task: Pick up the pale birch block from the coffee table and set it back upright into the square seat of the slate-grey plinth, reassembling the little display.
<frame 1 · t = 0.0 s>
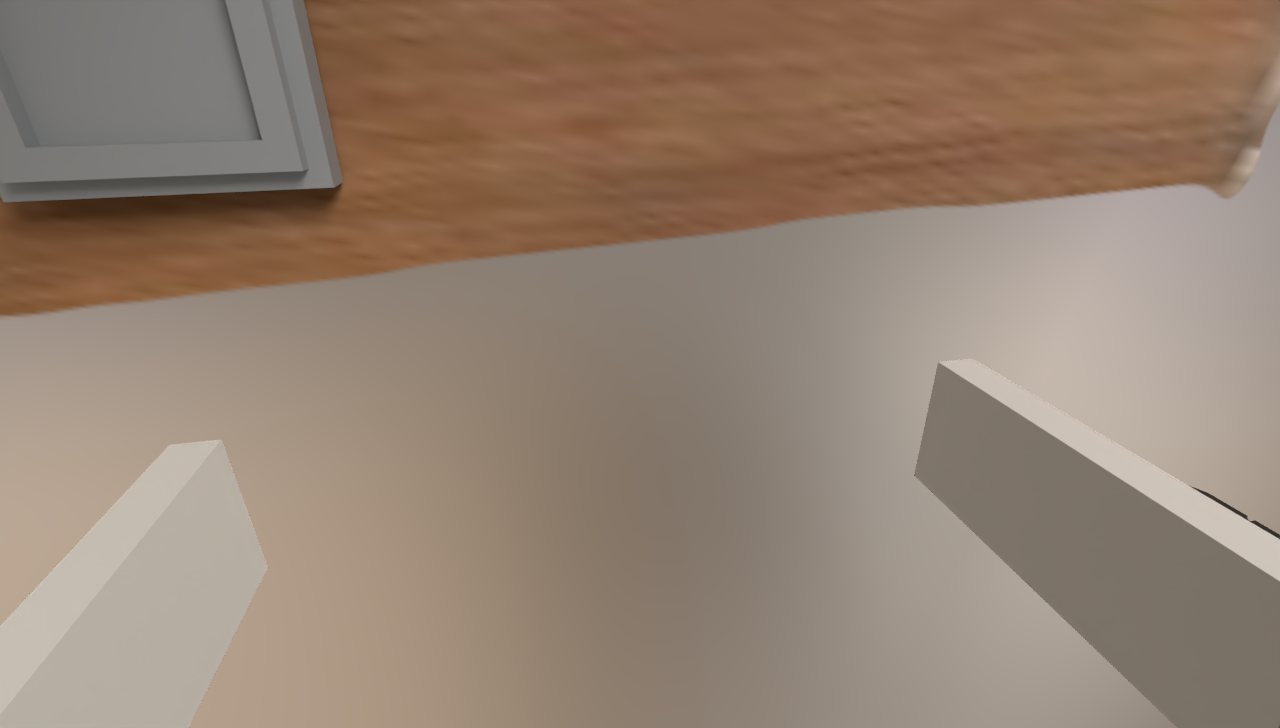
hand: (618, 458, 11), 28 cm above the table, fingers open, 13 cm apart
slate plinth: (142, 28, 29), on the table
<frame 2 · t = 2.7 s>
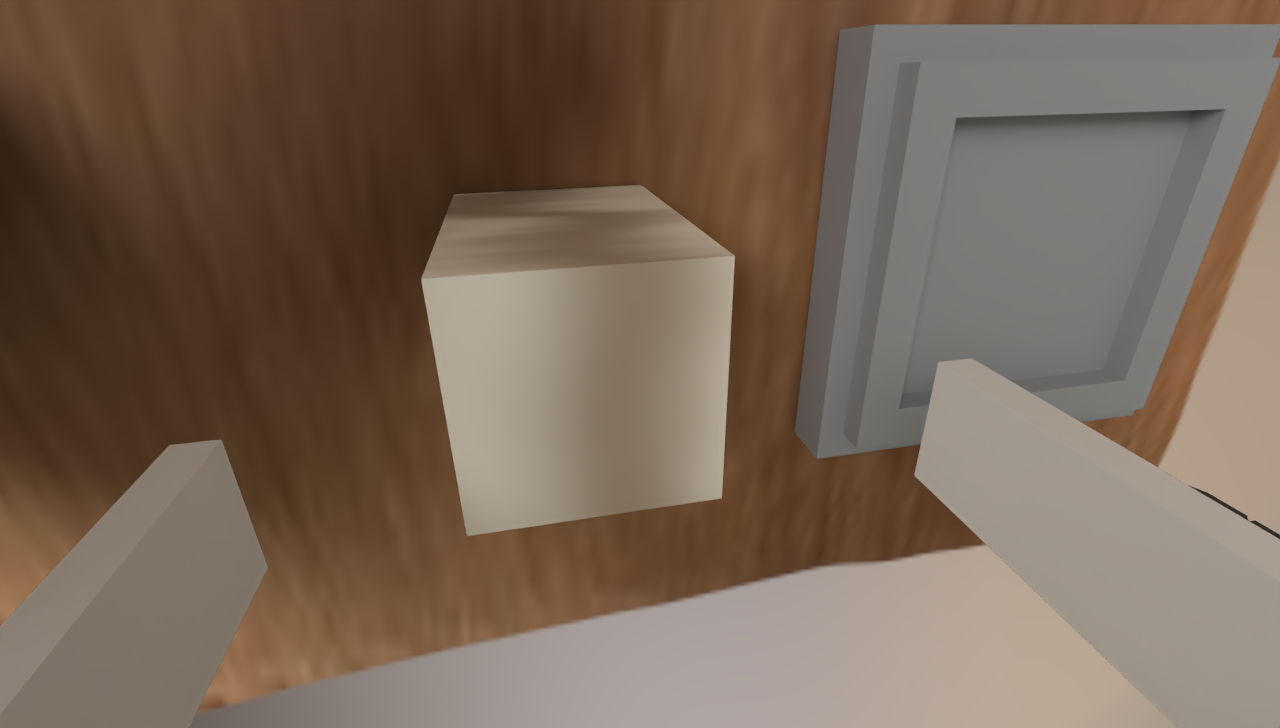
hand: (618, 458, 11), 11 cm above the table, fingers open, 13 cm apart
slate plinth: (990, 246, 24), on the table
birch block: (557, 279, 21), on the table
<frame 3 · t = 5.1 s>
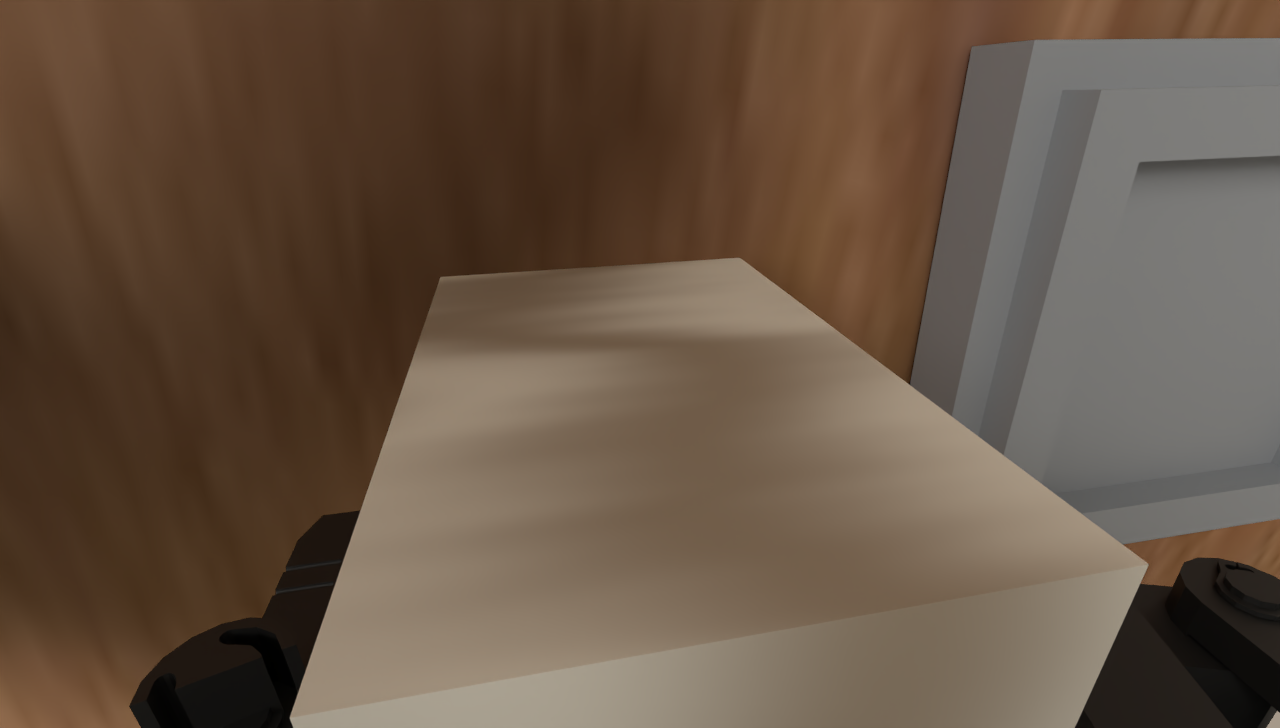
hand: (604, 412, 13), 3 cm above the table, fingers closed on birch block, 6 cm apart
slate plinth: (1135, 312, 19), on the table
birch block: (602, 399, 13), point 3 cm above the table, touching gripper
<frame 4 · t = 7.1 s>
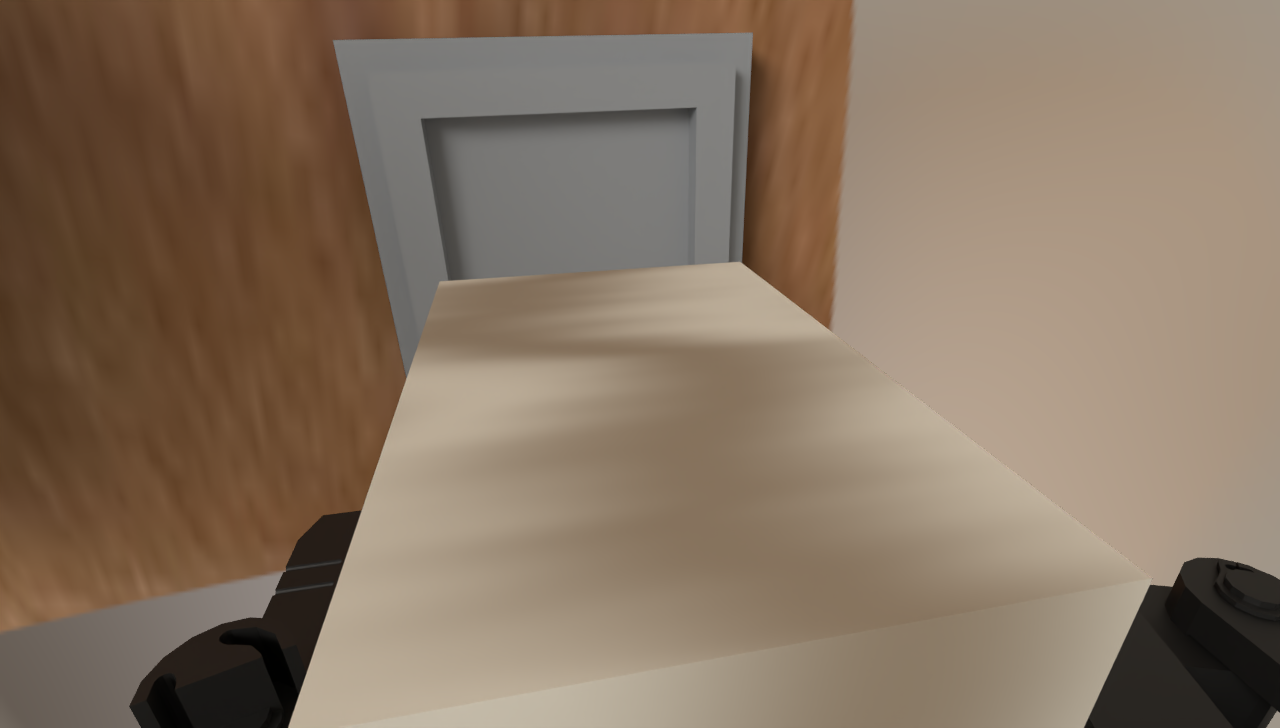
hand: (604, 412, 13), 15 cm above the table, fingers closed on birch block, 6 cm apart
slate plinth: (566, 231, 27), on the table
birch block: (601, 403, 13), point 15 cm above the table, touching gripper
when the fingers open (4 cm above the table, at t = 9.5 s): birch block drops 2 cm, resting on slate plinth.
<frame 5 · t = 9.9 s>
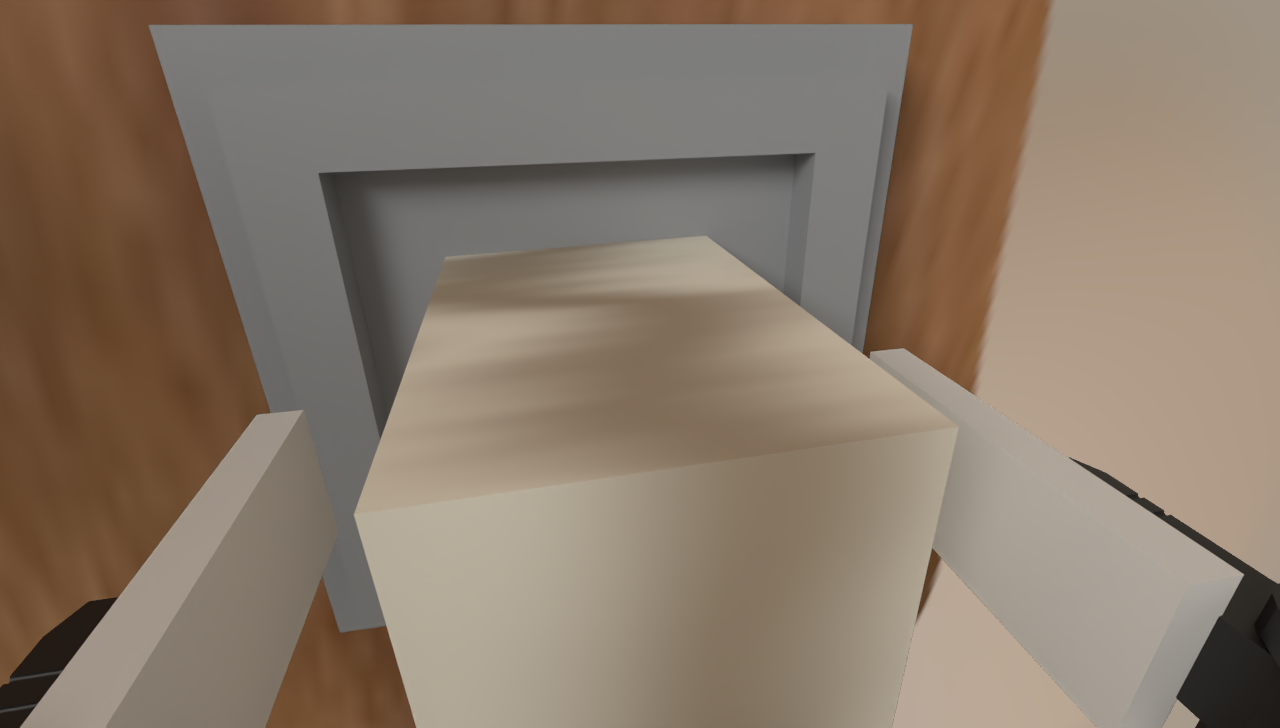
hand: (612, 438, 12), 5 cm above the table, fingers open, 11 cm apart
slate plinth: (581, 336, 17), on the table
birch block: (589, 364, 15), point 2 cm above the table, touching slate plinth
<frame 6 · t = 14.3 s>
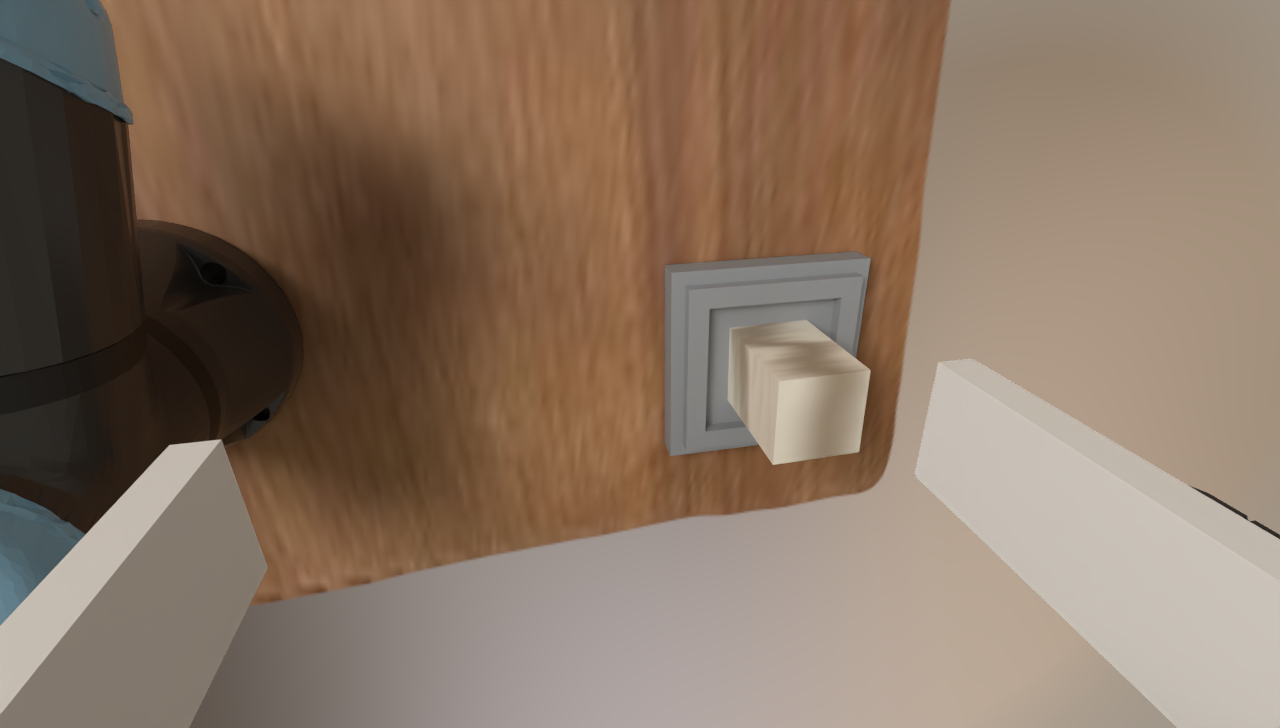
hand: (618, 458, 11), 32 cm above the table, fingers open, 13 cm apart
slate plinth: (756, 350, 48), on the table
birch block: (766, 360, 46), point 2 cm above the table, touching slate plinth
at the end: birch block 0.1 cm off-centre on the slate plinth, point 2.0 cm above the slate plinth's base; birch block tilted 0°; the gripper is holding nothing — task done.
